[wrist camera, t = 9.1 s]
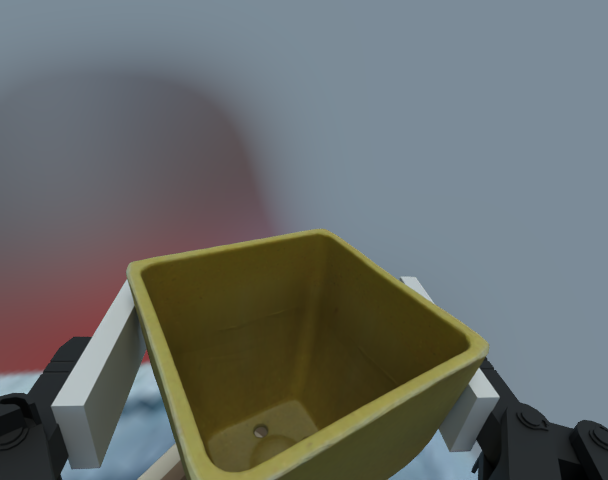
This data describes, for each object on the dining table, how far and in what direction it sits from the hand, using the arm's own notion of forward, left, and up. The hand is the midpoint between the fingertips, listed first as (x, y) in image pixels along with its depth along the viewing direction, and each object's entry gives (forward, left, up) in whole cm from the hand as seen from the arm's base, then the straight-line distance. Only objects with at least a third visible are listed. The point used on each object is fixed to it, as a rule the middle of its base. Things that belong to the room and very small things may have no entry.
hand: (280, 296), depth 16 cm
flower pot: (+3, -3, -6) cm, 7 cm away
